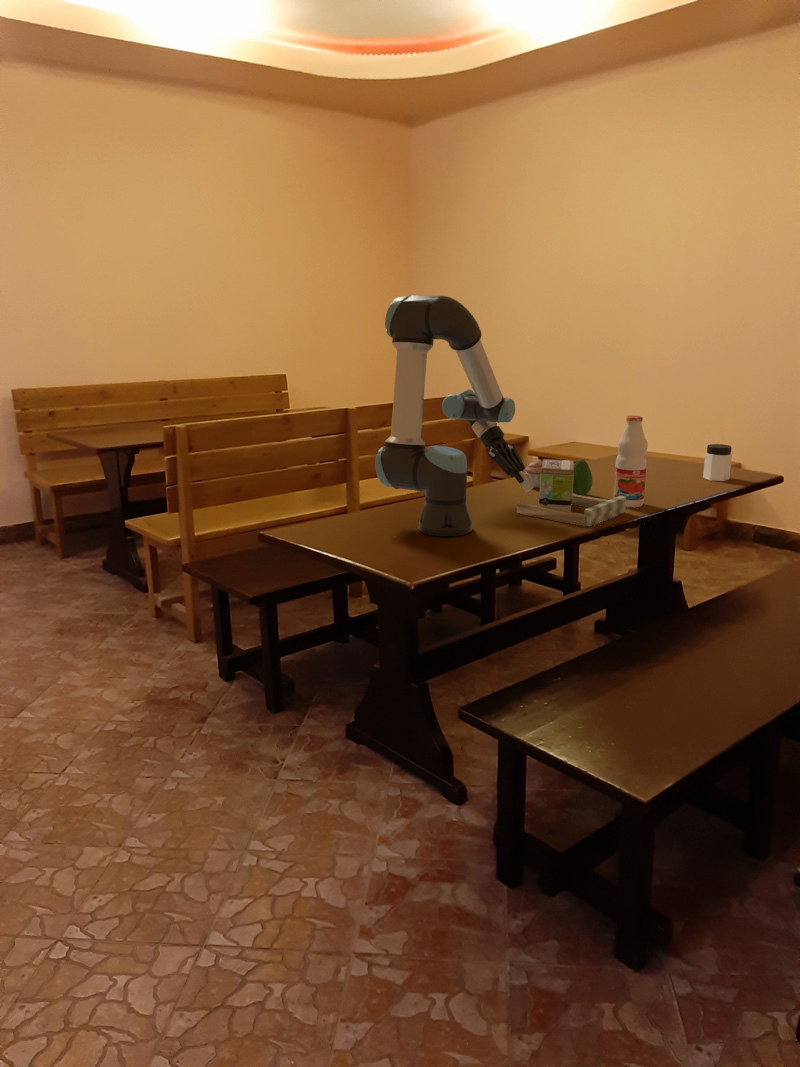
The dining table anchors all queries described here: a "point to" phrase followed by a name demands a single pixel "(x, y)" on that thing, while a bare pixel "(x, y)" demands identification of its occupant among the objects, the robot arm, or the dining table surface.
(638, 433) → the fruit juice
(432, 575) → the dining table surface
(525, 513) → the chute
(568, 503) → the tea box
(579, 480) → the avocado
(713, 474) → the jar
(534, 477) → the cupcake
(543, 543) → the dining table surface
